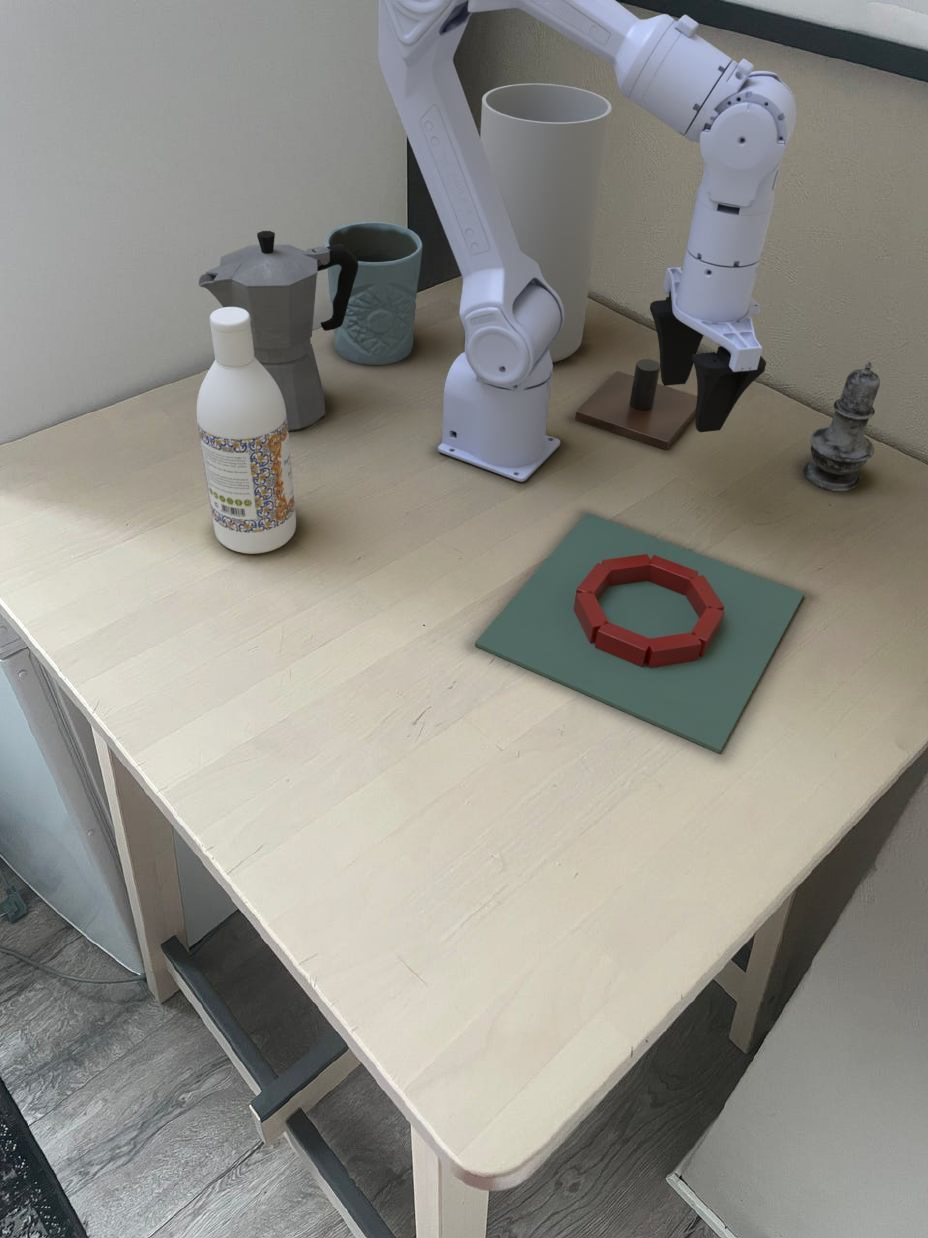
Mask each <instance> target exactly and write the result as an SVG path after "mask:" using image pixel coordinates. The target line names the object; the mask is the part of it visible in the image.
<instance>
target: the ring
mask: <svg viewBox="0 0 928 1238" xmlns="http://www.w3.org/2000/svg"><path fill="white" fill-rule="evenodd" d="M698 573H699V572H698V571H696V570H693V569H691V568H688V567H685V566H683V565H680V564H677V563H675V562H672V561H669V560H667V559H664V558H661V557H659V556H656V555H653V556H652V558H651V559H650V557H649V556H648V554H642V555H635V556H628V557H620V558H613V559H606V560H602V564H601V563H597V564H596V565H595V566H594V568H593V569H592V570H591V571H590V573H589V574H588V575H587V576H586V578H585V579H584V580H583V581H582V583H581V584H580V585H579V586H578V588H577V589H576V596H575V602H574V612H575V614H576V616H577V618H578V620H579V622H580V624H581V626H582V628H583V630H584V632H585V634H586V636H587V638H588V640H589V642H590V643H595V648H598V649H600V650H602V651H605V652H607V653H609V654H612V655H614V656H617V657H619V658H621V659H624V660H626V661H629V662H631V663H633V664H636V665H638V666H640V667H643V665H644V664H645V662H646V663H647V665H648V667H649V668H653V667H659V666H665V665H671V664H677V663H684V662H690V661H696V660H697V659H698V656H700V657H703V655H704V654H705V652H706V650H707V649H708V647H709V645H710V644H711V642H712V640H713V639H714V637H715V635H716V634H717V632H718V631H719V629H720V627H721V623H722V620H723V616H724V611H723V610H724V606H723V604H722V603H721V601H720V599H719V598H718V596H717V595H716V593H715V592H714V590H713V589H712V587H711V586H710V584H709V583H708V581H707V580H706V578H705V576H704V575H700V576H698ZM642 581H649V582H652V583H654V584H657V585H659V586H662V587H665V588H667V589H670V590H672V591H675V592H677V593H680V594H683V595H685V596H686V597H687V599H688V601H689V602H690V604H691V605H692V607H693V609H694V610H695V612H696V614H697V615H698V617H699V618H700V619H699V620H698V622H697V624H696V625H695V627H694V628H693V630H692V632H689V633H683V634H676V635H670V636H663V637H657V638H651V639H649V638H647V637H644V636H642V635H639V634H637V633H634V632H632V631H630V630H627V629H625V628H622V627H620V626H617V625H615V624H612V623H610V622H608V620H607V618H606V616H605V614H604V612H603V611H602V609H601V607H600V605H599V603H598V601H597V600H598V599H599V598H600V597H601V595H602V594H603V593H604V591H605V590H606V589H607V587H608V586H614V585H621V584H628V583H635V582H642Z"/></svg>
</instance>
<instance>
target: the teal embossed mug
mask: <svg viewBox="0 0 928 1238" xmlns="http://www.w3.org/2000/svg"><path fill="white" fill-rule="evenodd" d="M323 243H324V247H328V246H332V245H337V244H341V245H343V246H344V247H345V248H346V249H347V250H348V251H349V252H350V253H351V254H352V255H353V256H355V257H356V259H357V261H358V271H357V274H356V277H355V281H354V284H353V288H352V292H351V296H350V299H349V302H348V306H347V310H346V314H345V317H344V321H343V324H342V326H341V327H339V328H336V329H333V337H334V338H333V339H334V340H333V341H334V346H335V350H336V352H337V353H338V354H339V356H341V357H342V358H343V359H345V360H346V361H349V362H352V363H355V364H359V365H365V366H386V365H390V364H394V363H397V362H401V361H402V360H404V359H405V358H407V357H408V356H409V355H410V354H411V352H412V349H413V345H414V326H415V316H416V309H417V301H416V300H417V295H418V285H419V278H420V273H421V262H422V255H423V242H422V240H421V238H420V236H419V234H417V233H416V232H415V231H413V230H411V229H409V228H407V227H405V226H403V225H400V224H395V223H391V222H382V221H359V222H358V221H357V222H352V223H347V224H344V225H340V226H337V227H335V228H333V229H332V230H331V231H329V232H328V233H327V235H326V236H325V238H324V242H323ZM326 270H327V279H328V290H329V292H328V293H329V300H330V302H331V317H332V316H333V300H334V298H335V295H336V293H337V286H338V277H339V273H340V271H341V266H340V265H334V266H332V267H329V268H327V269H326Z"/></svg>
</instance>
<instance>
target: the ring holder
mask: <svg viewBox="0 0 928 1238" xmlns="http://www.w3.org/2000/svg"><path fill="white" fill-rule="evenodd" d="M660 373H661V370H660V362H658V361H656V360H654V359H649V358H641V359H639V360H637V361H636V363H635V367H634V375H632V374H629V373H625V372H622V371H619V370H616V371H615V372H614V373H613V374H612V375H611V376H610V377H609V378H608V379H607V380H606V381H605V382H604V383H603V384H602V385H601V386H600V387H599V388H598V389H597V390H596V391H595V392H594V393H593V394H592V395H591V396H590V397H589V398H588V399H587V400H586V401H585V402H584V403H583V404H582V405H581V406H580V407H579V408H578V409H577V410H576V411H575V418H574V419H575V420H576V421H578V422H580V423H585V424H587V425H591V426H593V427H596V428H599V429H602V430H604V431H608V432H611V433H614V434H617V435H620V436H623V437H626V438H629V439H632V440H635V441H638V442H641V443H643V444H646V445H648V446H649V445H650V446H653V447H655V448H658V449H662V450H665V451H667V450H668V449H669V448H670V446H671V445H672V444H673V443H674V441H676V440H677V438H678V437H679V435H680V434H681V433H682V432H683V431H684V430H685V428H687V426H688V425H689V423H690V422H691V421H692V420H693V419H694V418H695V412H696V403H697V395H696V394H692V393H689V392H687V391H684V390H680V389H677V388H674V387H670V386H664V385H663V384H662V383H661V384H660V383H658V381H659V377H660Z"/></svg>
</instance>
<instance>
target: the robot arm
mask: <svg viewBox="0 0 928 1238" xmlns="http://www.w3.org/2000/svg"><path fill="white" fill-rule="evenodd" d="M510 9H517V10H518V9H519V10H521V11H523V12H524V13H526V14H527V15H529V16H531V17H532V18H534V19H536V20H538V21H539V22H540V23H543V24H545V25H546V26H548V27H549V28H551V29H553V31H556V32H557V33H559V34H561V35H562V36H564V37H565V38H567V39H569V40H571V41H572V42H574V43H576V44H577V45H579V46H581V48H584V49H585V50H587V51H588V52H590V53H592V54H593V55H595V56H597V57H599V58H600V59H602V60H604V61H605V62H607V63H608V64H610V65H611V66H612V67H613V70H614V75H615V78H616V82H617V87H618V90H619V93H620V94H621V95H622V96H624V97H625V98H627V99H629V100H630V101H631V102H633V103H634V104H635V105H637V106H639V107H640V108H641V109H643V110H644V111H646V112H647V113H649V114H650V115H651V116H653V117H654V118H655V119H657V120H659V121H660V122H662V123H663V124H665V125H666V126H668V127H669V128H670V129H672V130H674V131H675V132H676V133H678V134H680V135H681V136H682V137H684V138H685V139H687V140H688V141H690V142H694V143H697V144H699V150H700V154H701V157H702V160H703V162H704V166H703V172H702V178H701V182H700V184H699V186H698V187H697V191H696V196H695V202H694V207H693V212H692V217H691V223H690V229H689V233H688V234H689V235H688V238H687V243H686V249H685V253H684V258H683V264H682V266H681V267H680V266H679V267H668V268H666V270H665V276H664V281H663V286H662V289H663V291H664V292H665V294H667V295H668V296H666V297H665V299H661V300H660V299H659V300H654V301H652V302H651V303H650V305H649V311H650V313H651V317H652V319H653V322H654V325H655V330H656V335H657V341H658V351H659V364H660V379H661V384H662V385H664V386H667V387H669V386H677V385H686V383H687V381H688V380H689V378H690V376H691V372H692V370H693V366H694V369H695V376H696V385H697V386H696V387H697V388H696V389H697V390H696V391H697V393H696V394H697V395H696V396H697V403H696V412H695V416H694V425H695V429H696V431H697V432H699V433H707V432H715V431H717V432H718V431H721V430H722V428H723V426H724V424H725V422H726V421H727V419H728V418H729V416H730V414H731V412H732V410H733V408H734V407H735V405H736V404H737V402H738V400H739V399H740V398H741V396H742V395H743V393H744V392H745V391H746V390H747V389H748V388H749V386H750V385H752V383H753V382H754V381H755V380H756V379H757V378H758V377H760V376H761V375H762V374H764V372H765V370H766V367H767V361H766V360H765V359H764V358H763V356H762V353H763V352H762V351H763V346H762V345H761V344H760V342H759V341H758V338H757V335H756V332H755V331H756V330H755V327H754V321H753V318H752V316H753V317H754V316H758V315H760V311H761V308H762V307H761V304H759V303H758V302H757V300H755V298H753V297H752V294H753V291H754V286H755V283H756V279H757V274H758V270H759V267H760V263H761V262H760V261H761V258H762V254H763V249H764V247H765V246H764V245H765V241H766V238H767V234H768V230H769V225H770V221H771V217H772V212H773V210H774V209H773V208H774V204H775V198H776V197H775V196H776V195H775V189H776V187H777V186H778V184H779V183H778V182H779V179H780V166H781V162H782V159H783V157H784V155H785V152H786V150H787V147H786V146H787V145H788V144H789V141H790V140H791V137H792V135H793V133H794V131H795V127H796V123H797V117H798V107H797V102H796V99H795V95H794V93H793V92H792V90H791V89H790V87H789V86H788V85H787V84H786V83H785V82H784V81H783V80H782V79H781V78H780V76H779V74H777V73H775V72H772V71H769V70H768V71H767V70H755V71H753V70H754V69H755V65H754V64H753V63H751V62H750V61H748V59H746V58H742V59H741V60H740V62H737V61H736V60H735V59H734V60H733V58H732V57H730V56H728V54H726V53H724V52H723V51H721V50H720V49H718V48H717V47H716V46H714V45H712V43H710V42H708V41H707V40H706V39H704V38H703V37H701V36H699V35H698V34H696V32H697V30H698V28H699V22H697V21H696V20H694V19H693V18H691V16H689V15H688V14H684V15H682V16H681V17H680V18H678V20H676V19H674V18H673V17H672V16H670V15H669V14H667V13H663V14H659V15H656V16H653V17H650V18H645V19H641V18H638V17H637V16H636V15H635V14H633V13H632V12H631V11H630V10H628V9H627V8H626V7H624V6H623V5H621V4H620V3H619V2H618V1H617V0H378V31H377V33H378V37H377V38H378V39H377V41H378V42H377V43H378V45H377V57H378V63H379V66H380V70H381V73H382V76H383V78H384V81H385V84H386V86H387V89H388V91H389V93H390V97H391V98H392V102H393V103H394V106H395V109H396V111H397V114H398V116H399V119H400V121H401V124H402V126H403V129H404V131H405V135H406V137H407V139H408V143H409V144H410V147H411V149H412V153H413V154H414V155H413V156H414V157H415V160H416V163H417V165H418V167H419V169H420V173H421V175H422V177H423V180H424V183H425V185H426V188H427V191H428V193H429V196H430V198H431V200H432V203H433V206H434V208H435V210H436V213H437V216H438V219H439V222H440V223H441V225H442V228H443V231H444V234H445V236H446V238H447V241H448V244H449V246H450V249H451V251H452V254H453V256H454V259H455V261H456V264H457V267H458V269H459V272H460V275H461V277H462V288H461V289H462V290H461V297H460V304H459V311H458V313H459V317H460V320H461V323H462V325H463V329H464V335H465V336H464V337H465V341H464V352H462V353H460V354H459V355H458V356H457V357H456V359H454V361H453V362H452V364H451V366H450V368H449V370H448V373H447V376H446V379H445V383H444V388H443V402H442V403H443V405H442V435H441V436H442V438H441V439H442V440H441V443H440V444H439V445H438V446H437V451H438V452H439V453H441V454H444V455H446V456H449V457H451V458H454V459H457V460H459V461H463V462H464V463H468V464H471V465H473V466H475V467H479V468H481V469H485V470H487V471H490V472H492V473H495V474H498V475H501V476H503V477H506V478H508V479H511V480H514V481H516V482H519V483H523V482H525V481H527V480H528V479H529V478H530V477H531V476H532V475H533V473H535V472H536V470H538V469H539V468H540V467H541V466H542V464H543V463H544V462H545V461H546V460H547V459H548V458H549V457H550V456H551V455H552V454H554V452H555V451H556V450H557V449H558V448H559V447H560V446H561V440H560V439H559V438H556V437H554V436H550V435H548V434H547V433H546V432H547V423H548V415H549V414H548V413H549V406H550V397H551V388H552V379H553V378H552V377H553V368H554V365H553V363H552V360H551V356H550V351H549V346H550V342H551V341H552V340H554V339H555V338H556V337H557V336H558V334H559V333H560V331H561V330H562V327H563V324H564V319H565V312H564V307H563V304H562V301H561V299H560V297H559V296H558V294H557V293H556V292H555V291H554V290H553V289H552V288H551V287H550V286H549V285H548V284H547V282H546V281H545V279H544V278H543V276H542V274H541V271H540V268H539V265H538V263H537V262H536V261H534V260H533V259H531V258H530V257H528V256H527V255H525V254H524V253H522V252H521V251H520V248H519V245H518V242H517V240H516V237H515V234H514V231H513V228H512V226H511V223H510V220H509V217H508V214H507V212H506V209H505V206H504V203H503V200H502V198H501V195H500V192H499V189H498V186H497V184H496V181H495V178H494V175H493V173H492V170H491V167H490V164H489V161H488V159H487V156H486V153H485V150H484V147H483V145H482V142H481V139H480V134H479V131H478V128H477V125H476V123H475V120H474V117H473V113H472V112H471V109H470V106H469V103H468V100H467V98H466V95H465V91H464V88H463V85H462V82H461V80H460V78H459V75H458V71H457V69H456V66H455V64H454V57H455V54H456V51H457V49H458V46H459V44H460V42H461V39H462V37H463V35H464V32H465V29H466V27H467V25H468V23H469V20H470V18H471V16H472V15H473V13H481V12H489V11H491V12H492V11H499V10H510ZM704 337H705V338H707V339H709V340H711V341H712V342H714V343H716V344H717V345H718V347H717V350H716V352H715V351H709V352H699V353H698V350H699V347H700V345H701V342H702V340H703V338H704Z"/></svg>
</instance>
